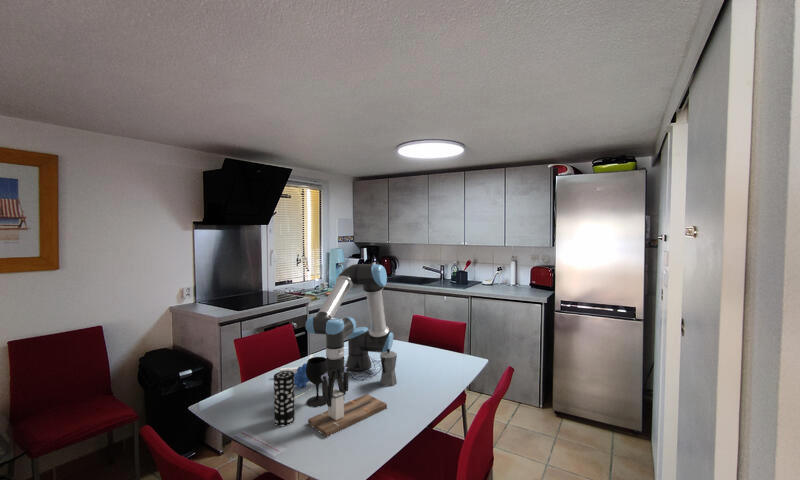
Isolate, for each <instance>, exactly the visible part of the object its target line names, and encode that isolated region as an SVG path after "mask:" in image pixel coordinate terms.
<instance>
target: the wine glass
mask: <svg viewBox="0 0 800 480" xmlns="http://www.w3.org/2000/svg"><path fill="white" fill-rule="evenodd" d="M326 358H327V357H325V356H313V357H310V358H309V359H308V360H307V361H306V363H307V365H306V376H307V378H308V380H309V382H310V383H311V384H313V385H314V386H315V390H316V395H315V396H312V397H310V398H308V399H307V400H306V402H305V403H306V405H307V406H308V405H309V407H311V406H313V407H312V408H318V407H317V406H320V407H323V406H325V405H327V399H325V398H323V396H322V395H319V388H320V385H322V380H321V377H320V376H321V375H324V374H325V373H326V370H327V366H326Z"/></svg>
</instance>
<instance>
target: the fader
mask: <svg viewBox="0 0 800 480" xmlns="http://www.w3.org/2000/svg"><path fill="white" fill-rule="evenodd" d="M332 398H333V401H334V414H330V413H329V406H327V411H328V415H329V416H330V417H332V418H333V419H335V420H338V419H340V418H342V417H344V404H345V395H344V393H342V392H340V391H339V389H336V388H333V394H332Z"/></svg>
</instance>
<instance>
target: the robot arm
mask: <svg viewBox="0 0 800 480" xmlns="http://www.w3.org/2000/svg"><path fill="white" fill-rule="evenodd" d="M387 281H388V275H387V271H386V267H384V266H383V265H382V264H376V263H367V264H366V263H362V264H361V263H355V264H352V265H350V266H347V267H346V268H344V269H343V270H342V271H341V272H340V273H339V274H338V275H337V277H336V280H335V284H334V286H333V287H332V289H331V290H330V293H329V294H328V295H327V297H326V299H325V301H323V304H322V305H321V307H320V309H319V310H318V312H317V313H316V315H315V316H309V317H308V318H307V319H306V322H305V330H306V331H307V333H309V334H314V335H324V336H325V358H326V366H327V370H326V373H325V374H324V375H321V376H320V377H321V380H322V383H321V390H322V391H321V393H322V395H321V396H323V398H325V399H327V404H326V406H327V407H328V406H329V413H330V414H334V401H333V398H332V394H333V390H334V388H335V387H334V386H335V382H337V387H338V390H339V391H340V392H342V393H344V396H345V395H346V394H347V393H346V392H348V391H349V377H350V376H349V373H355V372H356V373H363V372H364V371H365V372H367V370H368V371H369V370H371V369H372V361H371V359H370V356H369V352H371V353H379V354H381V353H383V352H387V349H390V351H392V347H393V343H394V333H393V332H391V331H390V328H389V327H388V326H387V325H386V323H387V322H386V316H385V306H384V298H383V290H384V288H385V286H386V285H387ZM355 286H359V287H360V286H362V290H363V292H365V293H366V300H367V307H368V315H369V323H370V328H368V327H366V326H359V327H357V323H356V321H355V319H354V318H353V317H351V316H345V317H343V318H336V317H335V315H336V313H337V311H338V310H339V308H340V307H341V305H342V303H343V301H344V299H345V298H346V295H347V294H348V292H349V291H350V290H352V289H353V287H355ZM345 338H347V345H348V346H347V349H348V351H347V358H346V359H347V360H346V362H345V356H344V355H345ZM344 365H345V366H344ZM370 368H371V369H370Z"/></svg>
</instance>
